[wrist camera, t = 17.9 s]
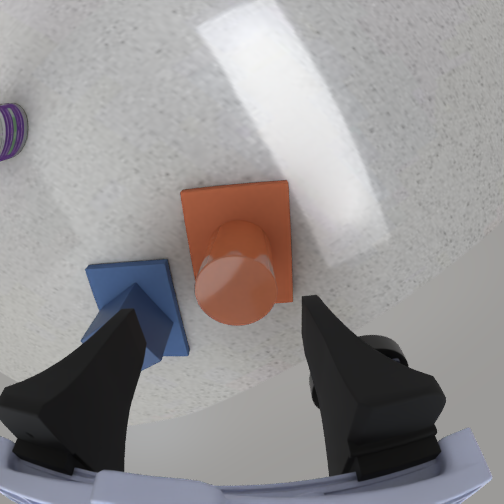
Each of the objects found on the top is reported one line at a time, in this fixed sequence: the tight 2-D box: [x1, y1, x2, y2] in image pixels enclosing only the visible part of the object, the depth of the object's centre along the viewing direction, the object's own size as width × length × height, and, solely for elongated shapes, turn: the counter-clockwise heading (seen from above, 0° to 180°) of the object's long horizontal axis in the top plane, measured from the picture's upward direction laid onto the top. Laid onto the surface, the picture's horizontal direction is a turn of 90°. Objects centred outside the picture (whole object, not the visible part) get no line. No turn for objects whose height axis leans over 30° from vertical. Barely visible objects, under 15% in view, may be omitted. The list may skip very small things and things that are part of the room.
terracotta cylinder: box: [195, 220, 277, 325], centre depth 19 cm, size 4×4×6 cm
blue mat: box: [85, 259, 190, 356], centre depth 24 cm, size 9×7×1 cm
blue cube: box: [81, 283, 173, 371], centre depth 22 cm, size 4×4×4 cm
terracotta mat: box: [180, 180, 293, 303], centre depth 22 cm, size 9×7×1 cm
